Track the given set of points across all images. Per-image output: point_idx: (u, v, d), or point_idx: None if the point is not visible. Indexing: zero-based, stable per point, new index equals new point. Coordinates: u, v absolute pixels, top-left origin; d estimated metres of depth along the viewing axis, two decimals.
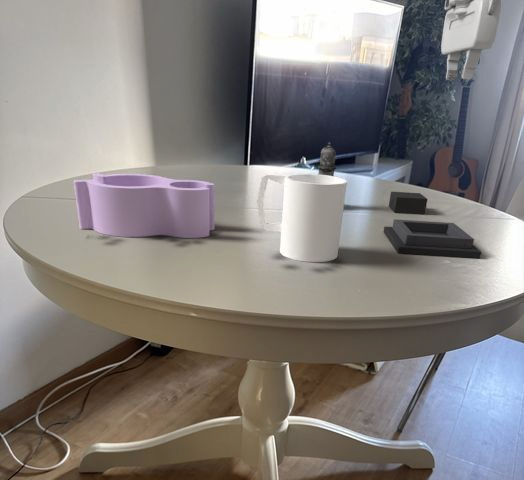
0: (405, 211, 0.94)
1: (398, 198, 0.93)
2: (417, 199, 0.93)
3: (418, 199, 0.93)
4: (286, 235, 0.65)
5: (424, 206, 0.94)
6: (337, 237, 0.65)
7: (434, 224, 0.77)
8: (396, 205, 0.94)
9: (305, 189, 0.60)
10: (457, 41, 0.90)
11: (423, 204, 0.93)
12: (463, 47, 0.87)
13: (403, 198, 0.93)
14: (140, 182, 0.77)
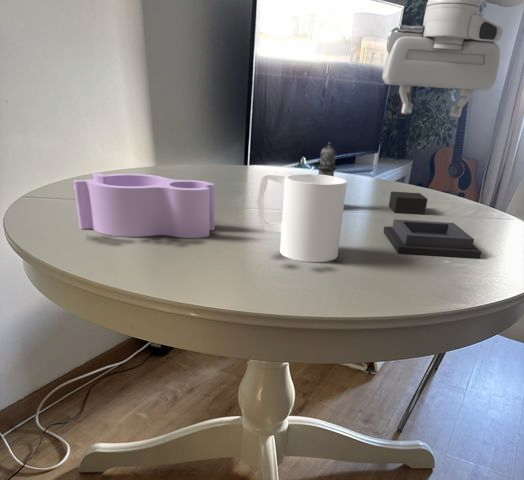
0: (405, 211, 0.94)
1: (398, 198, 0.93)
2: (417, 199, 0.93)
3: (418, 199, 0.93)
4: (286, 235, 0.65)
5: (424, 206, 0.94)
6: (337, 237, 0.65)
7: (434, 224, 0.77)
8: (396, 205, 0.94)
9: (305, 189, 0.60)
10: None
11: (423, 204, 0.93)
12: None
13: (403, 198, 0.93)
14: (140, 182, 0.77)
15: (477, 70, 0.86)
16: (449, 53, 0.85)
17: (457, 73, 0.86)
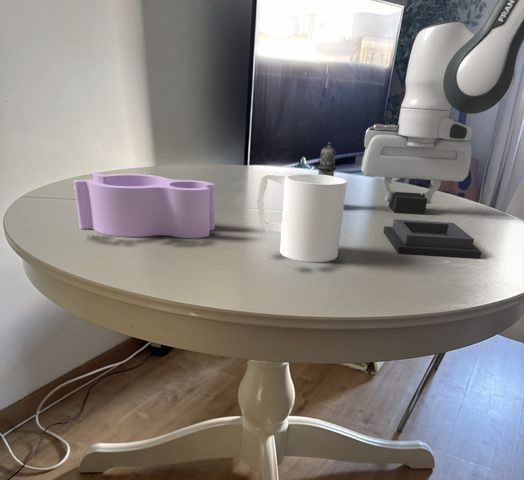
0: (405, 211, 0.94)
1: (398, 198, 0.93)
2: (417, 199, 0.93)
3: (418, 199, 0.93)
4: (286, 235, 0.65)
5: (424, 206, 0.94)
6: (337, 237, 0.65)
7: (434, 224, 0.77)
8: (396, 205, 0.94)
9: (305, 189, 0.60)
10: None
11: (423, 204, 0.93)
12: None
13: (403, 198, 0.93)
14: (140, 182, 0.77)
15: (450, 164, 0.91)
16: (423, 149, 0.90)
17: (431, 167, 0.91)
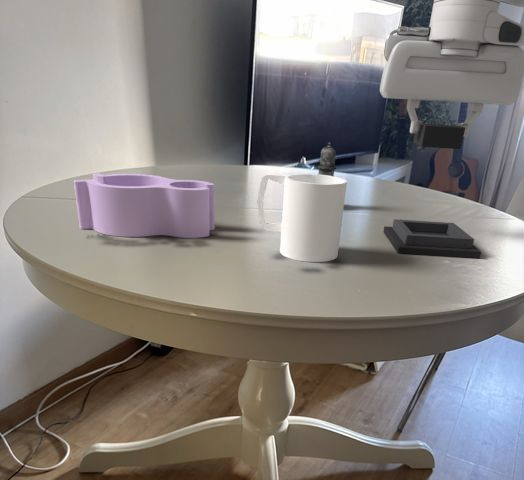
0: (436, 144, 0.73)
1: (427, 127, 0.72)
2: (452, 128, 0.72)
3: (453, 128, 0.72)
4: (286, 235, 0.65)
5: (461, 138, 0.73)
6: (337, 237, 0.65)
7: (434, 224, 0.77)
8: (424, 136, 0.73)
9: (305, 189, 0.60)
10: None
11: (460, 134, 0.72)
12: None
13: (434, 127, 0.72)
14: (140, 182, 0.77)
15: (496, 80, 0.70)
16: (461, 60, 0.69)
17: (471, 84, 0.70)
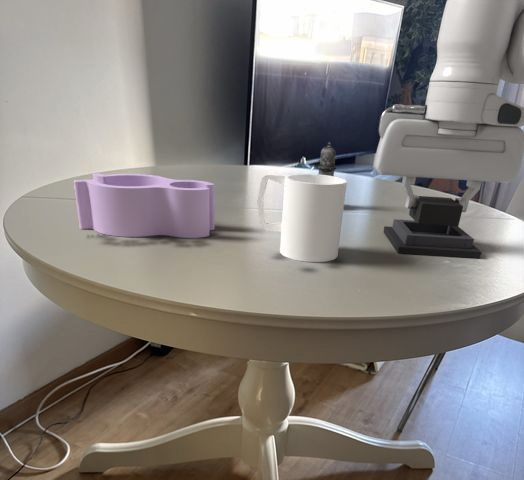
0: (433, 221, 0.70)
1: (424, 205, 0.69)
2: (449, 206, 0.69)
3: (451, 206, 0.69)
4: (286, 235, 0.65)
5: (458, 216, 0.70)
6: (337, 237, 0.65)
7: None
8: (421, 214, 0.70)
9: (305, 189, 0.60)
10: None
11: (458, 212, 0.70)
12: None
13: (430, 205, 0.69)
14: (140, 182, 0.77)
15: (495, 159, 0.67)
16: (459, 139, 0.66)
17: (469, 163, 0.67)
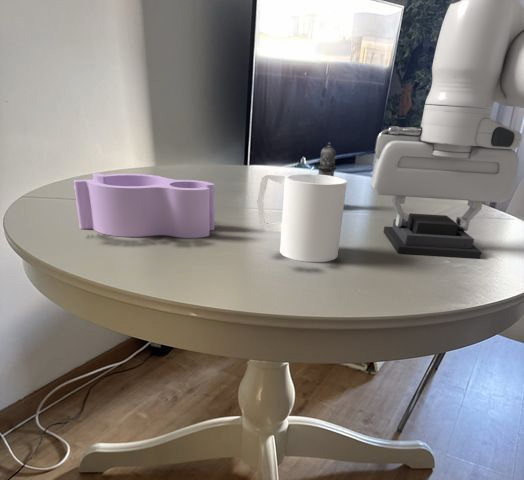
0: None
1: (420, 224, 0.71)
2: (445, 225, 0.71)
3: (446, 225, 0.71)
4: (286, 235, 0.65)
5: (454, 234, 0.71)
6: (337, 237, 0.65)
7: None
8: (417, 233, 0.71)
9: (305, 189, 0.60)
10: None
11: (453, 231, 0.71)
12: None
13: (426, 224, 0.71)
14: (140, 182, 0.77)
15: (489, 180, 0.69)
16: (453, 160, 0.68)
17: (464, 183, 0.69)
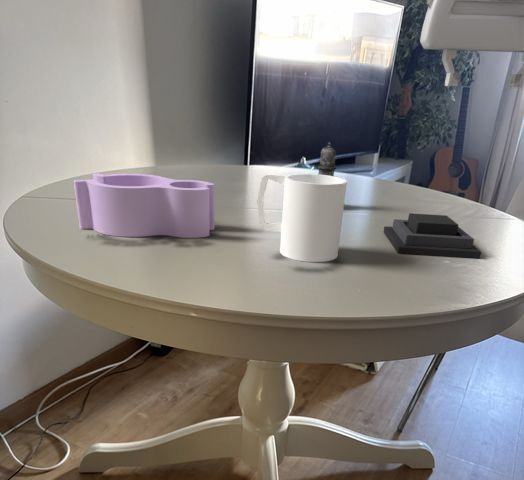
0: None
1: (420, 224, 0.71)
2: (445, 225, 0.71)
3: (446, 225, 0.71)
4: (286, 235, 0.65)
5: (454, 234, 0.71)
6: (337, 237, 0.65)
7: None
8: (417, 233, 0.71)
9: (305, 189, 0.60)
10: None
11: (453, 231, 0.71)
12: None
13: (426, 224, 0.71)
14: (140, 182, 0.77)
15: None
16: (509, 4, 0.65)
17: (520, 30, 0.66)
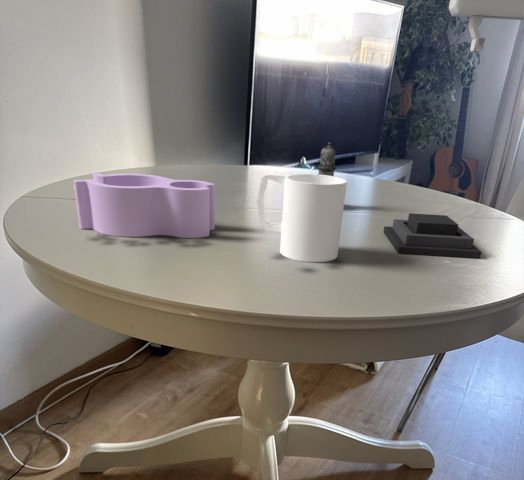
0: None
1: (420, 224, 0.71)
2: (445, 225, 0.71)
3: (446, 225, 0.71)
4: (286, 235, 0.65)
5: (454, 234, 0.71)
6: (337, 237, 0.65)
7: None
8: (417, 233, 0.71)
9: (305, 189, 0.60)
10: None
11: (453, 231, 0.71)
12: None
13: (426, 224, 0.71)
14: (140, 182, 0.77)
15: None
16: None
17: None
